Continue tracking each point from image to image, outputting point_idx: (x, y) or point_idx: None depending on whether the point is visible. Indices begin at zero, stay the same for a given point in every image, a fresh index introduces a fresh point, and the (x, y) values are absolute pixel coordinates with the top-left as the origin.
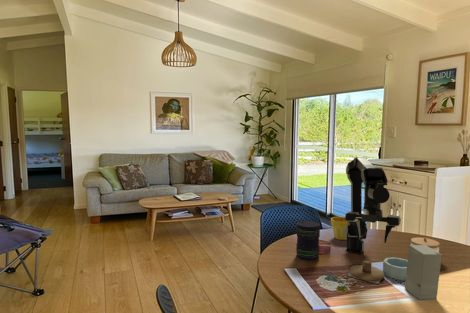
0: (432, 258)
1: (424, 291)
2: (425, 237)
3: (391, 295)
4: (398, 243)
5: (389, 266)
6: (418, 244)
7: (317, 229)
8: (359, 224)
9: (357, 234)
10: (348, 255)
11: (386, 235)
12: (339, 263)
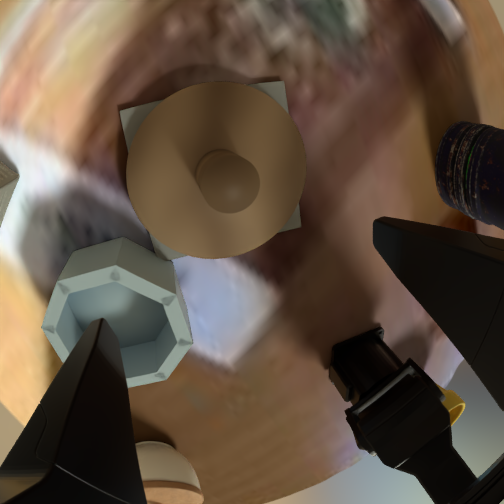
0: None
1: None
2: None
3: (33, 60)
4: (262, 470)
5: (118, 262)
6: (155, 485)
7: None
8: (484, 362)
9: (429, 227)
10: (362, 303)
11: (60, 391)
12: (367, 197)
